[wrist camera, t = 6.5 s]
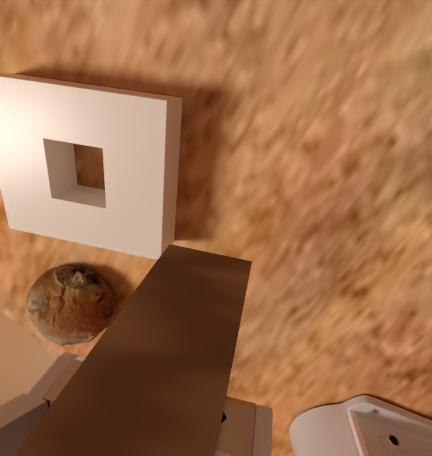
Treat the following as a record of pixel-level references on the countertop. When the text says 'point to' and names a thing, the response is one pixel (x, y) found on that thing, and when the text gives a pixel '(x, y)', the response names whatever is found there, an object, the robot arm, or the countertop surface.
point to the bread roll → (70, 305)
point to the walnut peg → (154, 367)
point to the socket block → (112, 158)
